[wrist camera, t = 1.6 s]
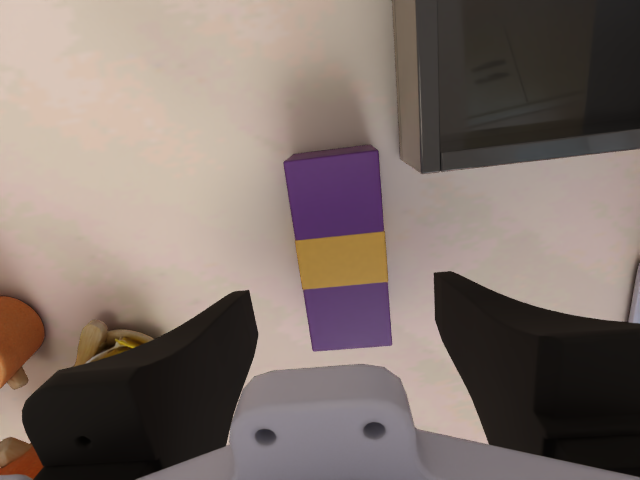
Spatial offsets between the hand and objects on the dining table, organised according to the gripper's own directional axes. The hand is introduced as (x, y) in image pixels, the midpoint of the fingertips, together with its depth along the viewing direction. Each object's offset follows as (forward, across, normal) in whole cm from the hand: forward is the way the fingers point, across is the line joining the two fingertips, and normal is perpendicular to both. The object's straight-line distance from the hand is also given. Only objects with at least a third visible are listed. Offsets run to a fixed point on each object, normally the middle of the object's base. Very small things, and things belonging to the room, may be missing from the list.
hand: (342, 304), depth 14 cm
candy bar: (+8, 0, 0) cm, 8 cm away
